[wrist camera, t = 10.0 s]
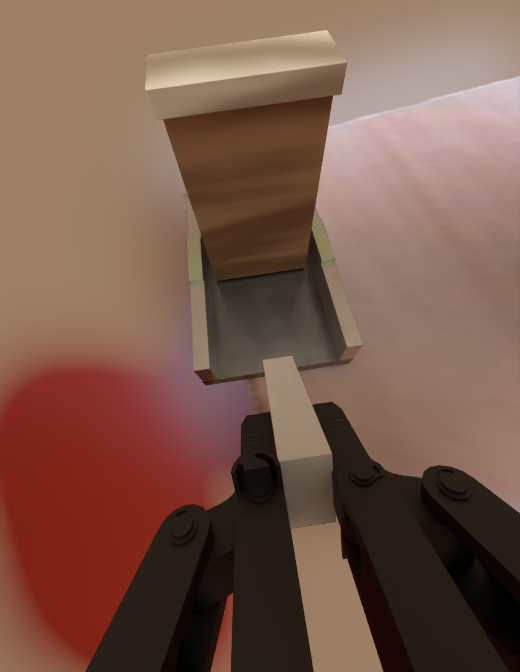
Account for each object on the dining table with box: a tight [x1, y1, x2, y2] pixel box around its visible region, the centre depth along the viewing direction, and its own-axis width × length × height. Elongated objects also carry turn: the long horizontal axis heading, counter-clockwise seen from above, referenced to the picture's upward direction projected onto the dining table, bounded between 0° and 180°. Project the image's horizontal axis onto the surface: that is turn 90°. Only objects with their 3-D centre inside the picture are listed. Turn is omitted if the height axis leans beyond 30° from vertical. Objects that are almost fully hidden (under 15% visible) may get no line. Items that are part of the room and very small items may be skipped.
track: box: [187, 199, 363, 385], centre depth 24 cm, size 19×13×7 cm
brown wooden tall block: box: [145, 30, 347, 281], centre depth 20 cm, size 4×10×15 cm, turn 98°
